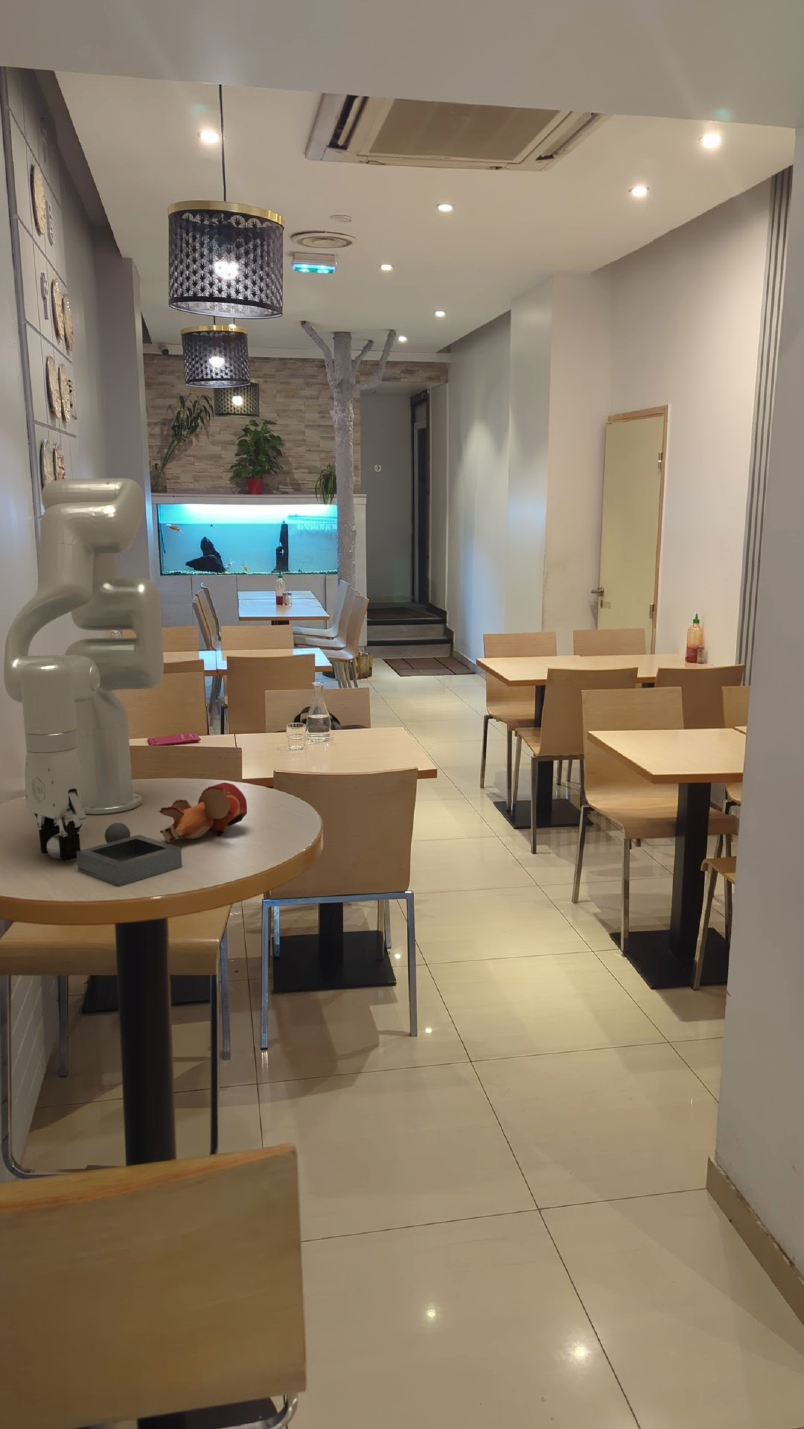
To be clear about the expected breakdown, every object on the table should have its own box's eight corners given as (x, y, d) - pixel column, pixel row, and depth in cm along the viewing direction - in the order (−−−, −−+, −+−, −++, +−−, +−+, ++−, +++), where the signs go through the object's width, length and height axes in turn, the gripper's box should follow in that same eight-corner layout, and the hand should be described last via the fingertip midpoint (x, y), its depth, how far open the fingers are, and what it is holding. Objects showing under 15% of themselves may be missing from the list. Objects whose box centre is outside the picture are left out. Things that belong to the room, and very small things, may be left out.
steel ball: (42, 858, 153) (40, 834, 152) (66, 852, 156) (64, 828, 155) (55, 864, 150) (53, 839, 150) (79, 857, 153) (77, 833, 153)
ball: (100, 847, 158) (98, 823, 158) (122, 841, 161) (120, 818, 161) (114, 852, 156) (112, 828, 155) (135, 846, 159) (134, 822, 158)
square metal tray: (77, 870, 147) (76, 851, 147) (140, 852, 155) (139, 834, 155) (118, 886, 140) (117, 866, 139) (182, 866, 148) (181, 847, 148)
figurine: (209, 849, 151) (281, 808, 161) (184, 798, 151) (258, 760, 161) (155, 866, 166) (224, 828, 176) (132, 819, 165) (202, 784, 175)
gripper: (1, 739, 153) (11, 850, 156) (58, 753, 142) (67, 873, 145) (46, 732, 158) (54, 839, 161) (103, 745, 147) (112, 860, 150)
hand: (60, 854), depth 153 cm, fingers open, 5 cm apart
